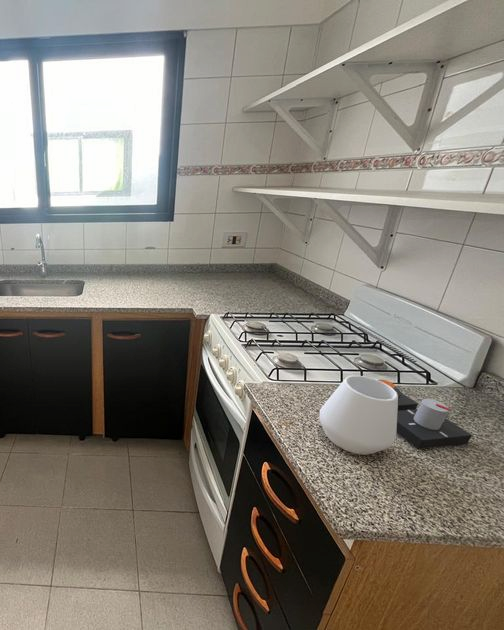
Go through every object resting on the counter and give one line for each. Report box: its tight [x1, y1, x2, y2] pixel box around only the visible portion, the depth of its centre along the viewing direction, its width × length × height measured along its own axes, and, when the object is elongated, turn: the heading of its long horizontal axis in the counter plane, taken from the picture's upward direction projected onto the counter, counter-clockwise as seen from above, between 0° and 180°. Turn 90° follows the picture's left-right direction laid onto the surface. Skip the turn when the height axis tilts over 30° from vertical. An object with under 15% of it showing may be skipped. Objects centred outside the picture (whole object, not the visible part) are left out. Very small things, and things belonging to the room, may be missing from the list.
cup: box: [319, 374, 398, 456], centre depth 73 cm, size 13×13×14 cm
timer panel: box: [396, 408, 473, 450], centre depth 78 cm, size 12×9×3 cm
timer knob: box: [413, 398, 451, 430], centre depth 76 cm, size 4×4×5 cm
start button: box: [377, 379, 396, 389], centre depth 86 cm, size 4×4×2 cm
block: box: [394, 386, 419, 411], centre depth 87 cm, size 11×9×4 cm
